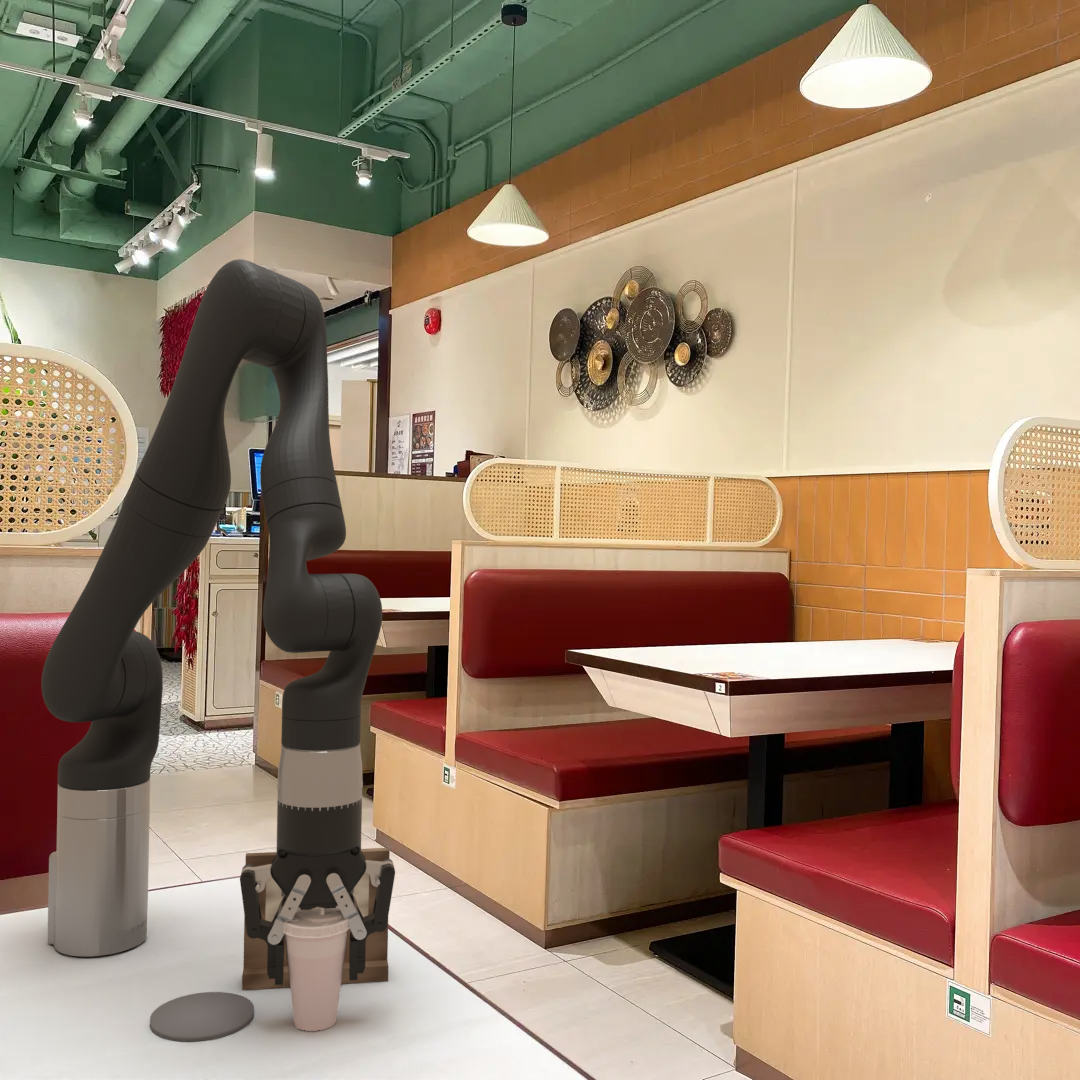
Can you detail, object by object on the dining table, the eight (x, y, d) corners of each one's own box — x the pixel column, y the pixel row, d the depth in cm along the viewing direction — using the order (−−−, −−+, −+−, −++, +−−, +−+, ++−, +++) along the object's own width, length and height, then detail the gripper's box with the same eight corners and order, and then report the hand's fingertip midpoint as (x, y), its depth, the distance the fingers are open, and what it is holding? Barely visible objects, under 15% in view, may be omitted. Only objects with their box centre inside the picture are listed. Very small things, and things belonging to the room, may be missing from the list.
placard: (241, 990, 103) (244, 860, 103) (244, 973, 107) (247, 848, 107) (388, 980, 106) (390, 854, 106) (385, 965, 110) (387, 843, 110)
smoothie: (334, 1041, 93) (336, 881, 93) (266, 1034, 94) (268, 875, 94) (361, 1010, 99) (363, 859, 99) (297, 1003, 101) (299, 854, 101)
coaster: (127, 1029, 95) (127, 1023, 95) (196, 990, 103) (196, 985, 103) (209, 1049, 91) (209, 1043, 91) (274, 1007, 99) (274, 1002, 99)
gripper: (234, 806, 92) (230, 1002, 92) (403, 801, 95) (399, 991, 95) (240, 786, 99) (237, 968, 99) (397, 782, 102) (393, 958, 102)
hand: (316, 978), depth 97 cm, fingers closed on smoothie, 6 cm apart
